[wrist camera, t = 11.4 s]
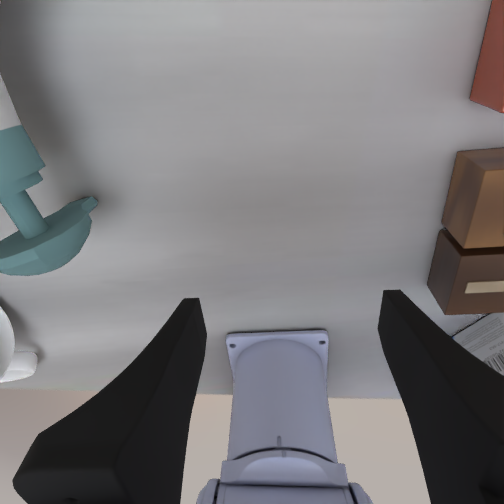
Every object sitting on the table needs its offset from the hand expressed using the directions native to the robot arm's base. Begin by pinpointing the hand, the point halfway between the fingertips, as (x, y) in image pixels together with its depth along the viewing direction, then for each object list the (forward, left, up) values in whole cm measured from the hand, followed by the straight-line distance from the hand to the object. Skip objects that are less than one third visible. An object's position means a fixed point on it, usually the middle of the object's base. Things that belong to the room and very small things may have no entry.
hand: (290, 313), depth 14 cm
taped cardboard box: (-4, -12, -9) cm, 16 cm away
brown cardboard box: (+1, -12, -9) cm, 15 cm away
